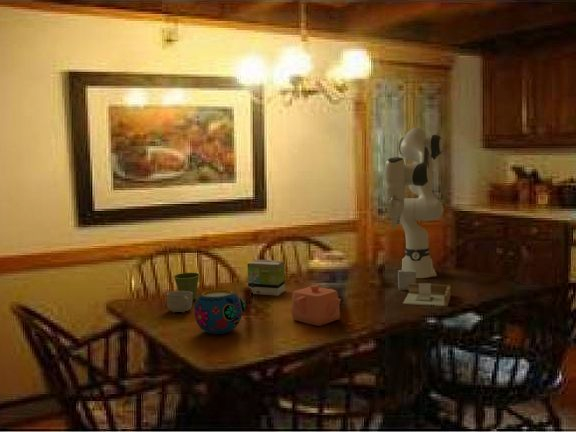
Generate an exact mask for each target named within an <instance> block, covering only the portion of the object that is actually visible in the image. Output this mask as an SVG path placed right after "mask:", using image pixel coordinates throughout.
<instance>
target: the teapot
mask: <svg viewBox="0 0 576 432" xmlns="http://www.w3.org/2000/svg"><path fill="white" fill-rule="evenodd" d="M341 301H342V298H339V293H338V291H337V290H335V289H334V288H327V287H320V285H318V284H312V285H310V286H307V287H305V288H301V289H296V290H294V291H292V298H291V317H292V320H294V321H297V322H300V323H304V324H307V325H312V326H316V327H319V326H324V325H327V324H330V323H333V322H334V321H338V320H339V319H340V315H341V313H340V311H341V310H340V304H341Z"/></svg>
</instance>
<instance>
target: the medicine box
mask: <svg viewBox="0 0 576 432" xmlns="http://www.w3.org/2000/svg"><path fill="white" fill-rule="evenodd" d="M397 282H398V283H397V286H398V291H409V284H417V278H416V271H415V270H402V269H398V270H397Z"/></svg>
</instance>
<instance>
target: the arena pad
mask: <svg viewBox="0 0 576 432" xmlns="http://www.w3.org/2000/svg"><path fill="white" fill-rule="evenodd" d="M418 295H419V293H409V292H408V293H407V295H406V297H405V298H404V301H402V305H410V306H411V305H412V306H415V305H416V306H431V305H432V307H434V306H435V307H448V305H449V302H450V300H451V295H450V298H449V301H448V305H446V306H444V295H443V294H431V299H430V301H425V300H418ZM433 305H434V306H433Z"/></svg>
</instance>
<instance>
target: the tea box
mask: <svg viewBox="0 0 576 432" xmlns="http://www.w3.org/2000/svg"><path fill="white" fill-rule="evenodd" d="M285 270H286V269H285V260H276V259H275V260H273V259H254V260H252V261H250V262H248V263H247V286H248V287H250V288H251V289H252V292H253V295H264V296H265V295H266V296H277V297H278V296H280V295H281V294H283V293H285V291H286V277H285V276H286V273H285ZM248 287H247V288H248Z"/></svg>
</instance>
